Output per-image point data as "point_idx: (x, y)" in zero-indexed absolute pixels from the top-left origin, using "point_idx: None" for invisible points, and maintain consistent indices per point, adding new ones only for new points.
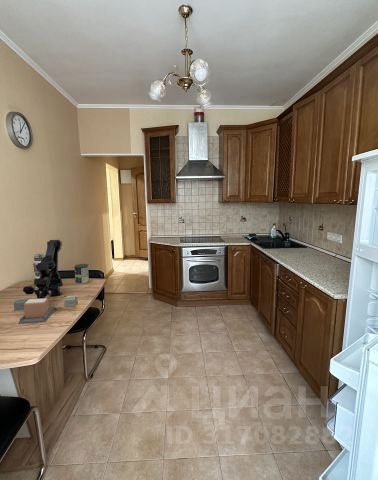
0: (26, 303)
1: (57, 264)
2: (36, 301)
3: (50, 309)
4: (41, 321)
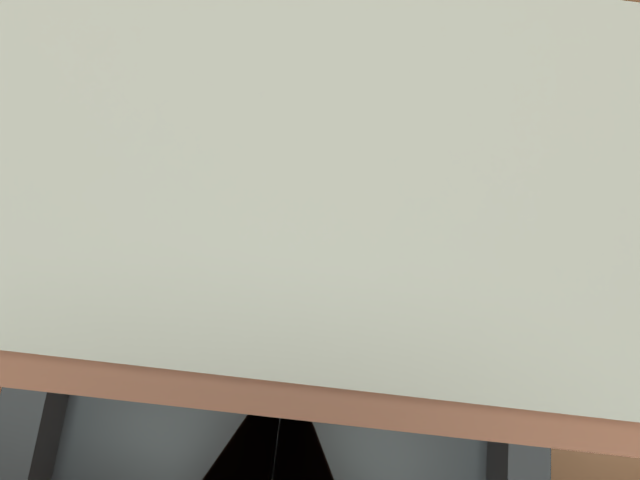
0: (612, 17)
1: None
2: (263, 31)
3: (29, 416)
4: None
